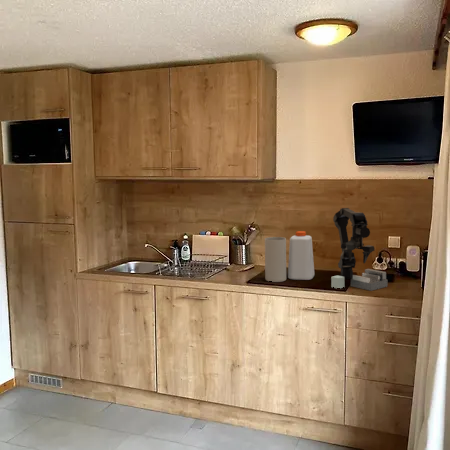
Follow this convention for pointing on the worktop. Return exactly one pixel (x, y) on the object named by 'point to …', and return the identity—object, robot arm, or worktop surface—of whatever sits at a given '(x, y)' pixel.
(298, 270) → the plastic bottle
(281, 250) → the cylinder vase
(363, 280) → the base
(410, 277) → the worktop surface
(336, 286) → the block
